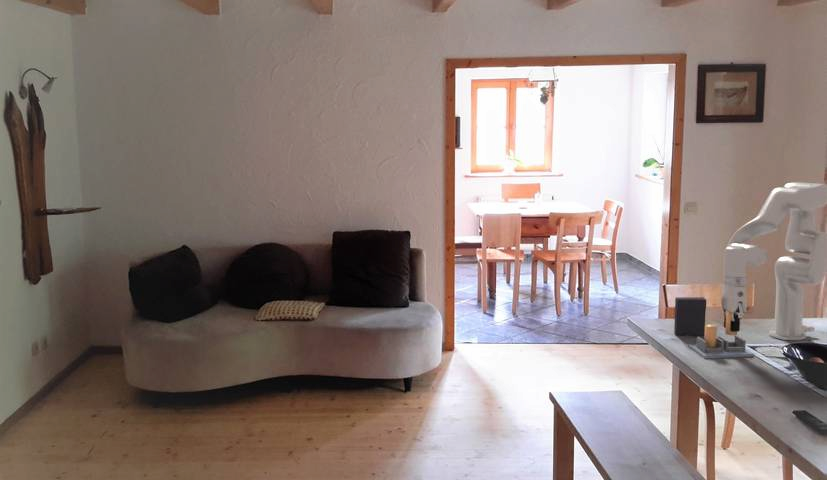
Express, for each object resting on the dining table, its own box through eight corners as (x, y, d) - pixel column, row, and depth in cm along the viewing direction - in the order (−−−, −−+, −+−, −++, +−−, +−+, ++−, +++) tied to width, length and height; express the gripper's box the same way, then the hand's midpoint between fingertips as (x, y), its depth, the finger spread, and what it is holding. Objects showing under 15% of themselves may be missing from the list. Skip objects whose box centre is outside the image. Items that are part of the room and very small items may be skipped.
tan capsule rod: (733, 332, 258) (735, 308, 256) (739, 335, 254) (740, 311, 252) (723, 332, 258) (724, 308, 256) (728, 335, 254) (729, 311, 252)
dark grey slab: (701, 333, 280) (703, 296, 278) (705, 336, 276) (706, 299, 273) (673, 333, 281) (674, 296, 279) (676, 336, 277) (677, 299, 274)
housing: (735, 345, 263) (736, 319, 262) (753, 356, 251) (755, 329, 249) (688, 347, 263) (689, 321, 261) (704, 358, 250) (705, 331, 248)
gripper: (756, 285, 245) (753, 335, 247) (732, 275, 261) (730, 323, 264) (735, 285, 244) (732, 336, 247) (713, 276, 261) (710, 323, 264)
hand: (731, 328), depth 255 cm, fingers closed on tan capsule rod, 4 cm apart
